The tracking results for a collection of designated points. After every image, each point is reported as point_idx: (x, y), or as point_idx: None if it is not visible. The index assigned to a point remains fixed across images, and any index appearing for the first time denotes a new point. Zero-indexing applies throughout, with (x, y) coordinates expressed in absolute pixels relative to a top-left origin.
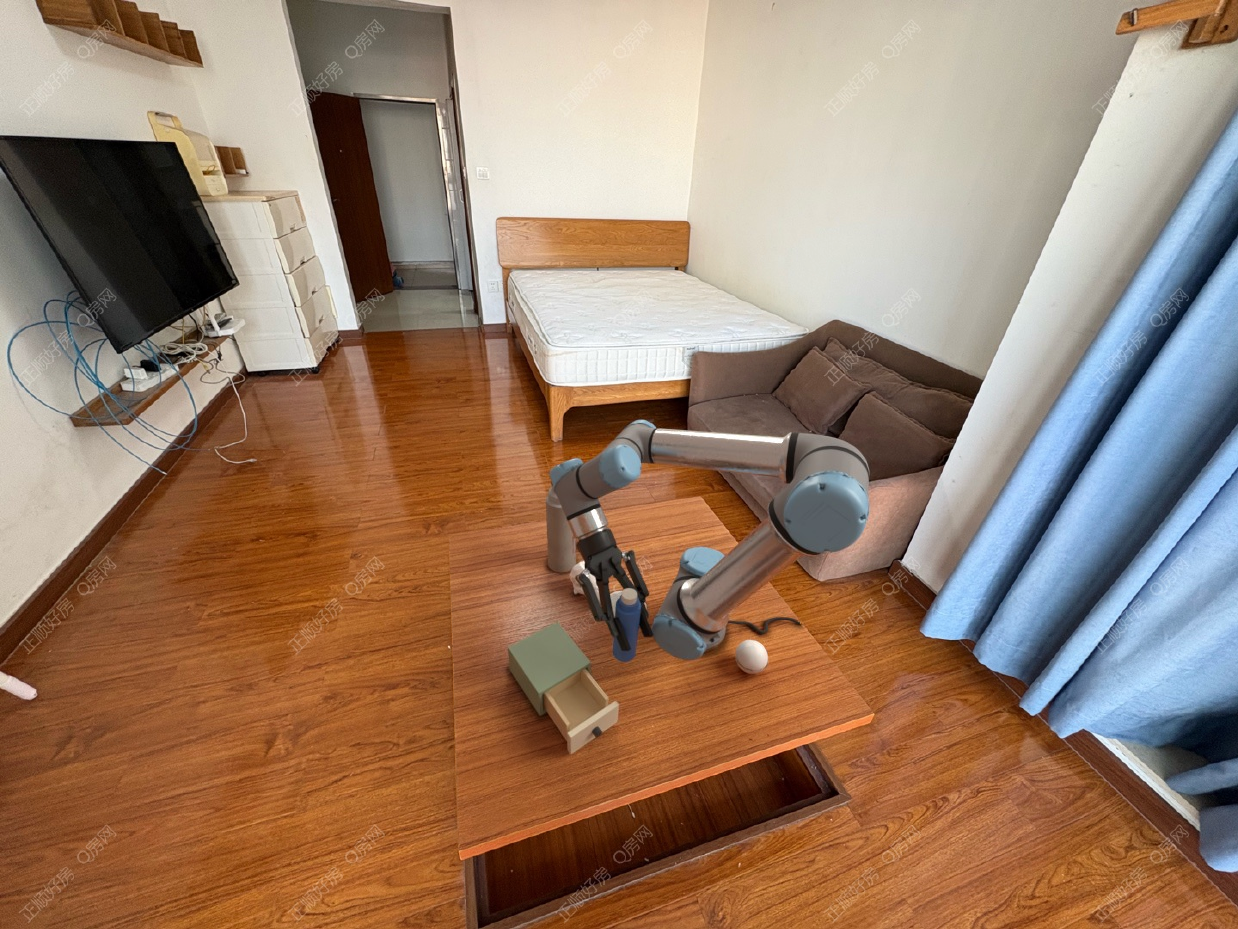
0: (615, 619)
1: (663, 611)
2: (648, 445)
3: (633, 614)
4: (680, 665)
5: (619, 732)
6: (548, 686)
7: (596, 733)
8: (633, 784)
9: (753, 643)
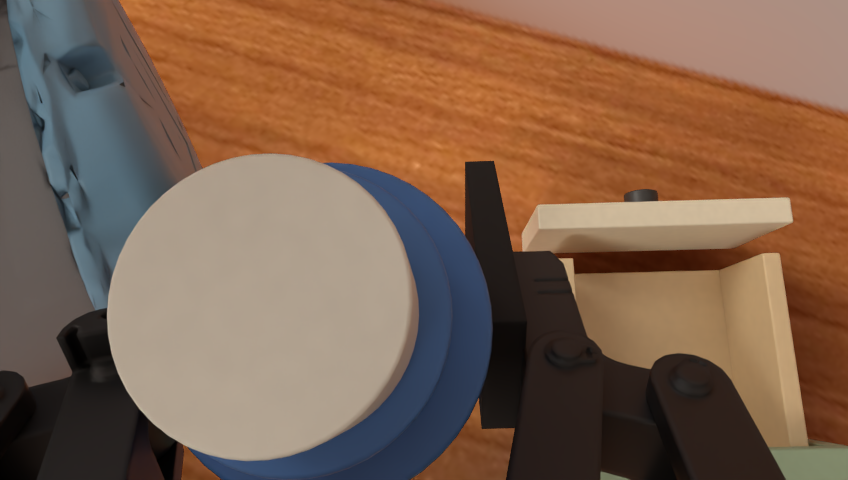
0: (525, 318)
1: (26, 239)
2: None
3: (365, 168)
4: None
5: (529, 210)
6: (799, 457)
7: (654, 192)
8: (585, 57)
9: None
